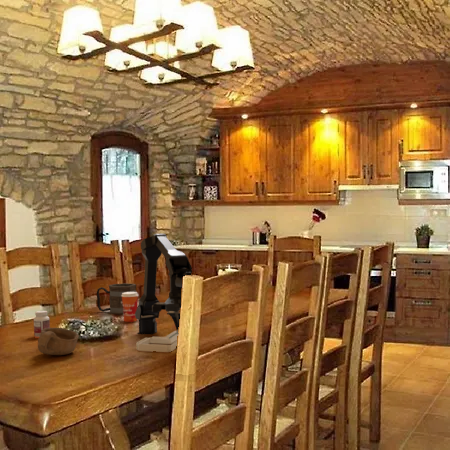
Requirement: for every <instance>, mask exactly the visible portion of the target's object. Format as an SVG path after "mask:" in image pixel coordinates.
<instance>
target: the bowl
mask: <svg viewBox="0 0 450 450" xmlns="http://www.w3.org/2000/svg"><path fill="white" fill-rule="evenodd" d="M79 338H80V335H79V333H77V332H76V331H74V330H71V329H66V328H63V327H62V328H61V327H50V328H44V329H42V330H41V334H40V336H39V338H37V351H39V352H40V353H41V354H44V355H49V356H51V355H52V356H65V355H69V354H71V353H72V352H74V351H75V349H76V348H77V343H78V340H79Z"/></svg>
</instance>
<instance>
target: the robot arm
mask: <svg viewBox="0 0 450 450" xmlns="http://www.w3.org/2000/svg"><path fill="white" fill-rule="evenodd" d="M140 249H141V254H142V256H143V257H144V277H143V280H144V281H143V294H142V295H141V297H140V298H138V299H139V300H138V305H137V310H136V312H135V317H136V319H137V320H138V332H137V335H154V334H156V333H157V332H158V322H157V320H156V319H159V318H160V317H159V316H160V312H161V311H162V310H164V311H166V314H167V315H169V316H170V317H171V319H172V321H173V323H174V326H175V329H176V331H177V330H178V327H179V319H180V308H181V288H182V277H183V276H185V275H191V276H192V274H193V267H192V265H191V261H190V260H189V258H188V256H187V255H186V254H185V253H184V252H183V251H181V250H177V249H176V247H174V245H173V244H172V243H171V241H170V240H169V239H168V236H167V234H166V233H154V234H152V235H151V236H149V237H146V238H144V239H143V240H142V241H141V242H140ZM162 255H163V257H164V258H165V265H166V268H167V269H168V276H169V292H168V298H166V300H165V302H163V301H162V302H160V300H159V299H158V298H157V295H156V291H157V270H158V269H157V267H158V260H159V259H160V258H161V256H162Z"/></svg>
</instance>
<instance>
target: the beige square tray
mask: <svg viewBox="0 0 450 450" xmlns="http://www.w3.org/2000/svg"><path fill="white" fill-rule="evenodd" d="M135 344H136V345H135V348H136V351H139V352H153V351H156V353H157V352H158V353H169V352H171V351H172V352H173V351H174V350H176V349H177V348H176V346H177V340H175V341H173V342H172V343H169V341H168V340H167V338H166V336H152V337H144V338H141V340H138V341H137V342H136V343H135Z"/></svg>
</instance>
